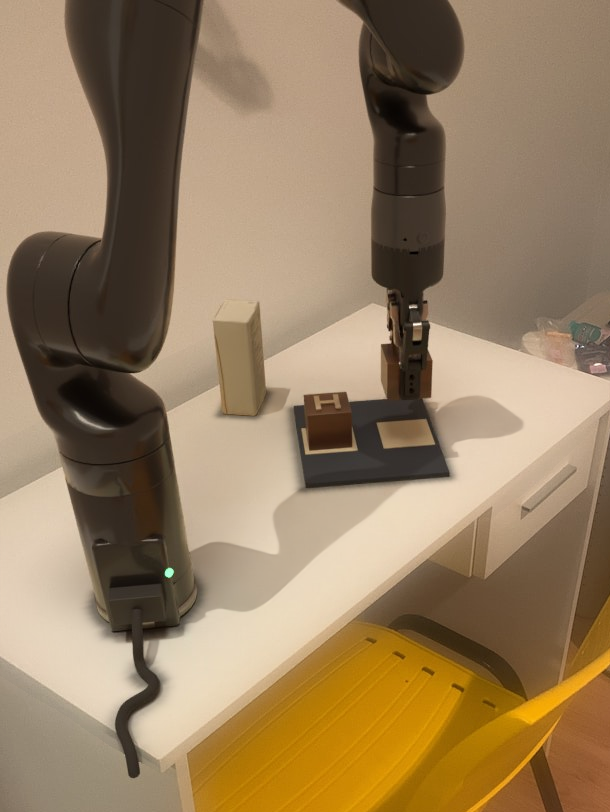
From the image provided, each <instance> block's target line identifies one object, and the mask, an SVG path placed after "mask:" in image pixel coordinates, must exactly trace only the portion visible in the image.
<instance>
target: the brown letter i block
mask: <svg viewBox="0 0 610 812" xmlns="http://www.w3.org/2000/svg"><path fill="white" fill-rule="evenodd" d="M409 357H417V354H411V355H409ZM398 362H399V349H398V347H397V346H395V345H394V343H391V342H390V343H380V382H381V383H380V384H381V386H382V388H383V392H384V395H385V399H387V401H397V400H402V399H401V398H400V394H399V389H400V367H399V365H398ZM433 362H434V360H433V357H432V355H431V353H430V351H429V350H428V352H427V367H426V370H421V376H420V397H419V398H418V399H431V398H432V392H433V391H432V390H433V389H432V387H433V364H434V363H433Z"/></svg>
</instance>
